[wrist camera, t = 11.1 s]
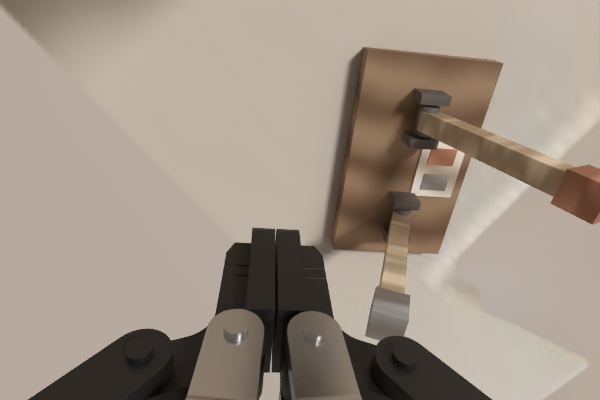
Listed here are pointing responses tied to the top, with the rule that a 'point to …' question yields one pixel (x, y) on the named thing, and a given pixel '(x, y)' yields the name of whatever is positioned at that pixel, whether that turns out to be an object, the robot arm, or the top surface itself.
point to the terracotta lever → (518, 162)
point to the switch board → (407, 146)
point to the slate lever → (392, 283)
